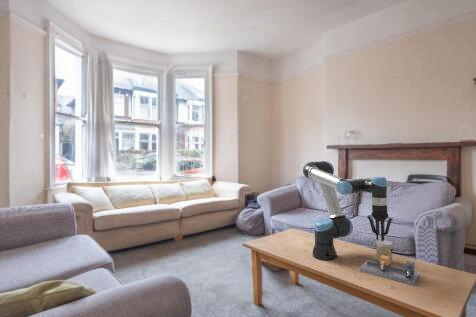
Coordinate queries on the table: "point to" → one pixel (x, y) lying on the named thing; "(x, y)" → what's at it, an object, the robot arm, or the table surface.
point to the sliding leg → (384, 261)
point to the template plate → (392, 271)
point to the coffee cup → (384, 250)
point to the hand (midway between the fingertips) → (380, 246)
